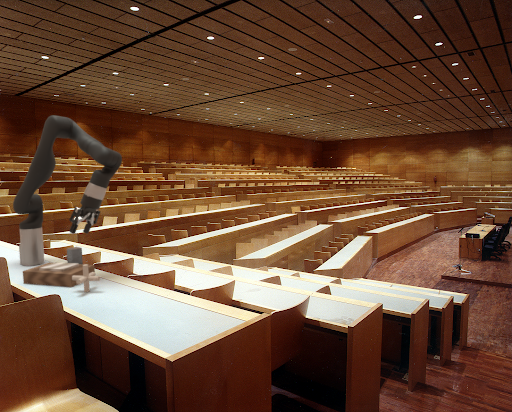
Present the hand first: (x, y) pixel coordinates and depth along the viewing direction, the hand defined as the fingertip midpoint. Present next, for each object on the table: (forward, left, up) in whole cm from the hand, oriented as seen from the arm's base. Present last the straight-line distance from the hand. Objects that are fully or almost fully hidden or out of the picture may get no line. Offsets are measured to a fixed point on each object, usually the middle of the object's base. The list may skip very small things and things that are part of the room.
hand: (78, 232), depth 152 cm
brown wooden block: (-8, -3, -19) cm, 21 cm away
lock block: (-12, +12, -19) cm, 26 cm away
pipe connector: (+12, -13, -20) cm, 26 cm away
